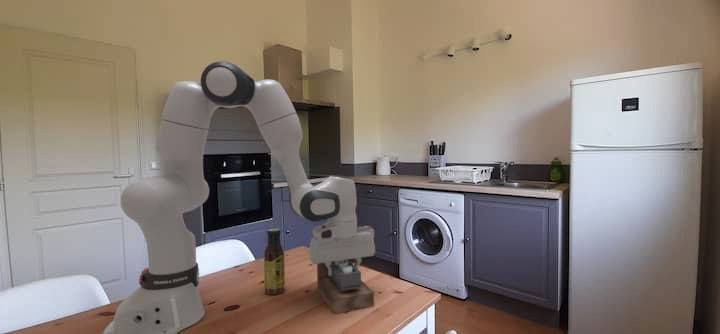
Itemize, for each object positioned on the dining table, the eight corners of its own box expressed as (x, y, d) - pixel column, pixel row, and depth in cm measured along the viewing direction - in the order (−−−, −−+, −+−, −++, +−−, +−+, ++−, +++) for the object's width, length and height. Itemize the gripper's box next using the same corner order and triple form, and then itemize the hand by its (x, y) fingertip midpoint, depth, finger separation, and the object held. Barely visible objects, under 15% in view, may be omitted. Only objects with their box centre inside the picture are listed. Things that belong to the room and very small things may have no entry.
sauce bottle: (279, 296, 101) (277, 232, 100) (261, 294, 102) (259, 232, 101) (288, 287, 107) (286, 227, 106) (270, 286, 108) (269, 227, 107)
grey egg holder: (341, 291, 91) (340, 272, 91) (327, 274, 104) (327, 257, 104) (361, 287, 93) (360, 269, 93) (345, 271, 106) (345, 255, 106)
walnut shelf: (333, 314, 89) (332, 258, 88) (317, 289, 105) (316, 241, 105) (373, 306, 93) (372, 252, 92) (352, 283, 110) (351, 237, 109)
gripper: (370, 223, 105) (370, 265, 105) (307, 229, 98) (308, 274, 98) (378, 227, 99) (378, 272, 100) (312, 234, 92) (313, 282, 92)
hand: (343, 273), depth 99 cm, fingers closed on grey egg holder, 6 cm apart
